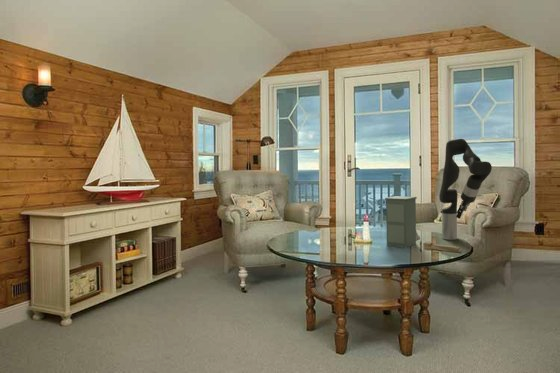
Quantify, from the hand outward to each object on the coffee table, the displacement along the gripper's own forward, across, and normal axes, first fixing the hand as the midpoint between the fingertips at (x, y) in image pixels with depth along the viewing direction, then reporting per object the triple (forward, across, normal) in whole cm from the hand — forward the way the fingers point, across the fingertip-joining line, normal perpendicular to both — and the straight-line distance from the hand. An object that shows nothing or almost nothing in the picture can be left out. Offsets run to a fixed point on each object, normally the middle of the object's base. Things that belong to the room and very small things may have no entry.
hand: (461, 214), depth 237 cm
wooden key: (+22, +11, 0) cm, 24 cm away
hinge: (+42, -4, -25) cm, 49 cm away
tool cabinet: (+33, +12, -23) cm, 42 cm away
